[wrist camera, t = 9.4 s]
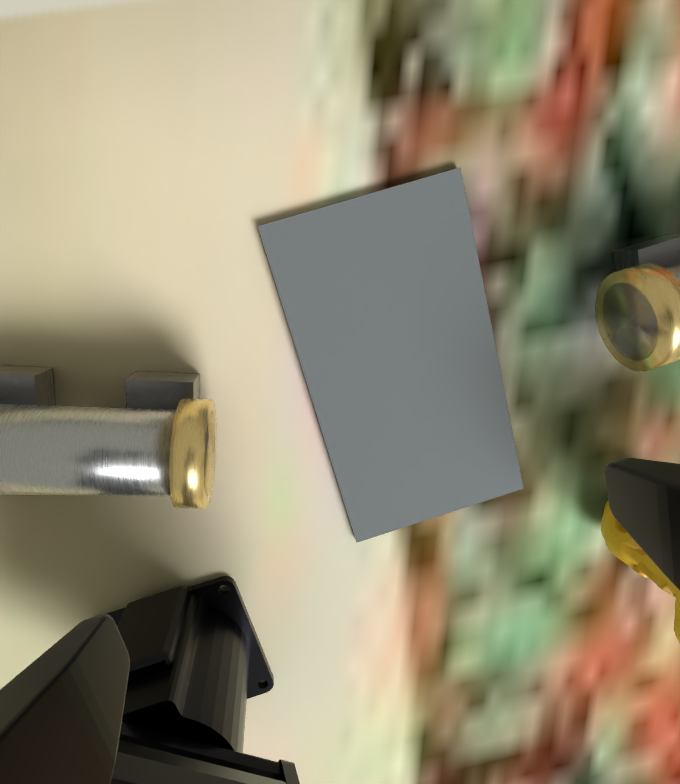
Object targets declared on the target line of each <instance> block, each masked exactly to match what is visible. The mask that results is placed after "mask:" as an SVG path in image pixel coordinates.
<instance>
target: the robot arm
mask: <svg viewBox="0 0 680 784" xmlns="http://www.w3.org/2000/svg"><path fill="white" fill-rule="evenodd" d="M606 483H607V492H608V500H609V507H610V510H611V512H612V514H613V516H614V517H615V519H616V520H617V521H618V522H619V523H620V525H621V526H622V527H623V528H624V529H625V530H626V531H627V533H628V534H629V535H630V536H631V537H632V538H633V539H634V541H635V542H636V543H637V544H638V545H639V546H640V547H641V549H642V550H643V551H644V552H645V553H646V554H647V555H648V557H649V558H650V559H651V560H652V561H653V562H654V563H655V565H656V566H657V567H658V568H659V569H660V570H661V571H662V572H663V574H664V575H665V576H666V577H667V578H668V579H669V580H670V581H671V582H672V583H673V584H674V585H675V586H676V587H677V588H678V589H679V590H680V464H676V463H668V462H659V461H651V460H643V459H635V458H627V459H623V460H620V461H616V462H613V463H610V464H609V465H608V466H607V467H606ZM222 585H226V586H228V587H229V588H230V589H229V590H227V591H223V590H221V589H220V588H219V587H220V586H222ZM261 680H266V681H267V682H266V683H263V684H262V683H259V681H261ZM273 685H274V678H273V674H272V672H271V669H270V667H269V664H268V662H267V659H266V657H265V654H264V652H263V649H262V647H261V644H260V642H259V639H258V637H257V634H256V632H255V629H254V627H253V624H252V622H251V619H250V617H249V615H248V612H247V610H246V607H245V605H244V602H243V600H242V597H241V595H240V592H239V590H238V587H237V585H236V582H235V581H234V579H232V578H231V577H227V576H223V577H219V578H216V579H213V580H210V581H206V582H203V583H200V584H197V585H194V586H191V587H188V588H186V587H177V588H174V589H171V590H168V591H165V592H162V593H159V594H156V595H153V596H150V597H146V598H143V599H140V600H137V601H134V602H131V603H129V604H128V605H127V606H126V608H123V609H120V610H117V611H114V612H111V613H108V614H103V615H100V616H96V617H93V618H90V619H86V620H84V621H82V622H81V623H79V624H78V625H77V626H76V627H75V628H73V629H72V630H71V631H70V632H69V633H67V634H66V635H65V636H64V637H63V638H61V639H60V640H59V641H58V642H57V643H55V644H54V645H53V646H52V647H51V648H49V649H48V650H47V651H46V652H45V653H43V654H42V655H41V656H40V657H39V658H38V659H36V660H35V661H34V662H33V663H32V664H30V665H29V666H28V667H27V668H26V669H24V670H23V671H22V672H21V673H20V674H18V675H17V676H16V677H15V678H14V679H12V680H11V681H10V682H9V683H8V684H6V685H5V686H4V687H3V688H2V689H0V784H300V783H299V779H298V776H297V772H296V768H295V765H294V763H292V762H288V761H284V760H279V761H278V762H275V761H271V760H267V759H263V758H260V757H256V756H252V755H248V754H244V753H243V742H244V728H245V713H246V699H248V698H251V697H254V696H257V695H260V694H263V693H266V692H268V691H270V690H271V689H272V688H273Z"/></svg>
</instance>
